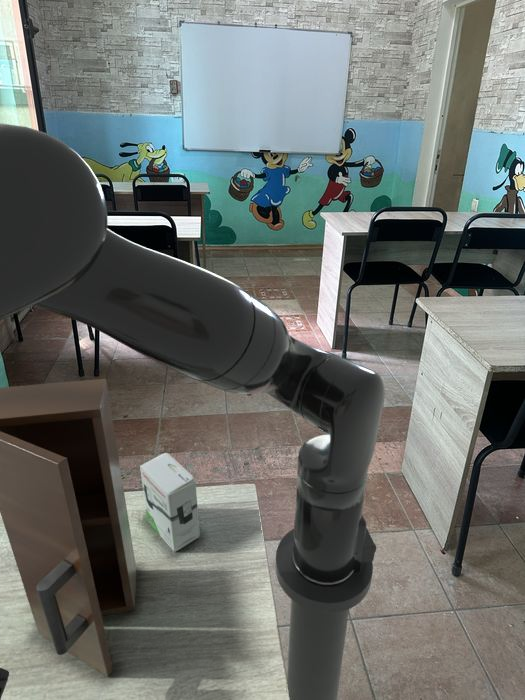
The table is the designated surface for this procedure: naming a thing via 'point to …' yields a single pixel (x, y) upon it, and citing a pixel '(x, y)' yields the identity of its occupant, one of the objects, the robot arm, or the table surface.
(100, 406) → the cabinet
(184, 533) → the ink box
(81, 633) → the cabinet door
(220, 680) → the table surface
